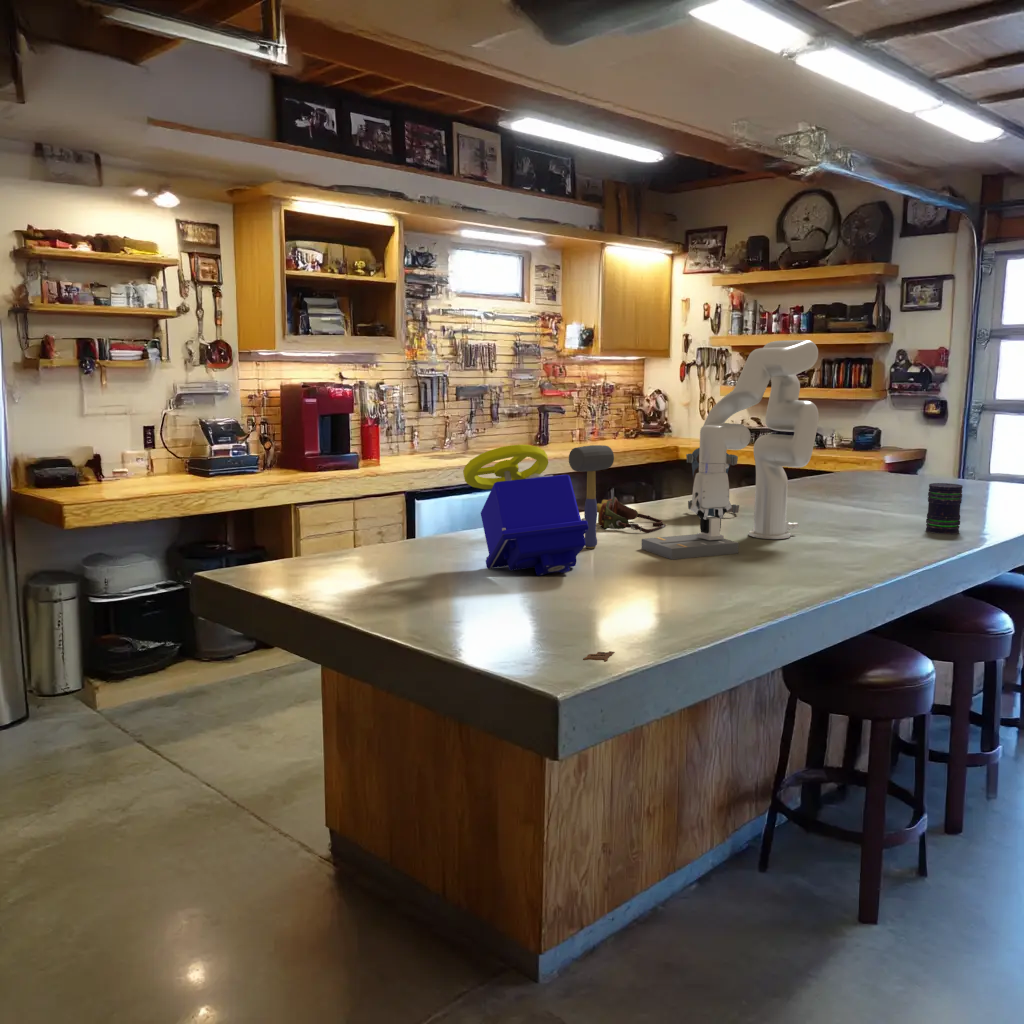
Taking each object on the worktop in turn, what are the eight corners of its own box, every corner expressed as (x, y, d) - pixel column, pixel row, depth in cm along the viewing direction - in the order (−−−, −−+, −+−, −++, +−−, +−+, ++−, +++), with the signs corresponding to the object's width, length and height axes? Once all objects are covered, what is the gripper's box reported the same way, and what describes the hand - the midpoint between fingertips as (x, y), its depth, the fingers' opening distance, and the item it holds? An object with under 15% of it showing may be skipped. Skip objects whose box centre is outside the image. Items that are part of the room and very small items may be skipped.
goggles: (671, 533, 283) (671, 502, 282) (597, 534, 284) (597, 503, 283) (660, 523, 308) (660, 494, 306) (592, 524, 308) (592, 495, 307)
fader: (711, 535, 262) (712, 515, 261) (723, 539, 256) (724, 518, 255) (696, 536, 260) (697, 516, 259) (708, 540, 254) (709, 519, 253)
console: (705, 543, 267) (705, 533, 267) (738, 553, 253) (738, 542, 252) (641, 548, 259) (641, 538, 259) (671, 559, 244) (671, 548, 244)
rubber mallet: (582, 552, 254) (583, 447, 249) (565, 548, 260) (566, 445, 255) (614, 547, 261) (616, 445, 257) (597, 543, 267) (598, 443, 263)
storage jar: (955, 535, 279) (959, 487, 277) (922, 531, 285) (925, 485, 283) (962, 530, 287) (966, 484, 285) (929, 527, 293) (932, 482, 290)
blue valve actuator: (601, 549, 215) (572, 438, 225) (494, 563, 208) (470, 448, 218) (572, 582, 238) (547, 480, 248) (475, 596, 231) (454, 490, 241)
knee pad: (676, 516, 317) (678, 445, 313) (699, 509, 333) (701, 442, 329) (725, 520, 307) (728, 448, 303) (746, 513, 323) (749, 444, 319)
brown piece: (615, 627, 182) (615, 623, 182) (637, 629, 181) (637, 626, 181) (580, 661, 160) (580, 658, 160) (605, 664, 159) (605, 660, 159)
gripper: (728, 466, 261) (726, 527, 264) (680, 468, 255) (678, 531, 258) (744, 468, 255) (741, 532, 257) (695, 471, 248) (693, 536, 251)
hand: (710, 531), depth 258 cm, fingers open, 3 cm apart
